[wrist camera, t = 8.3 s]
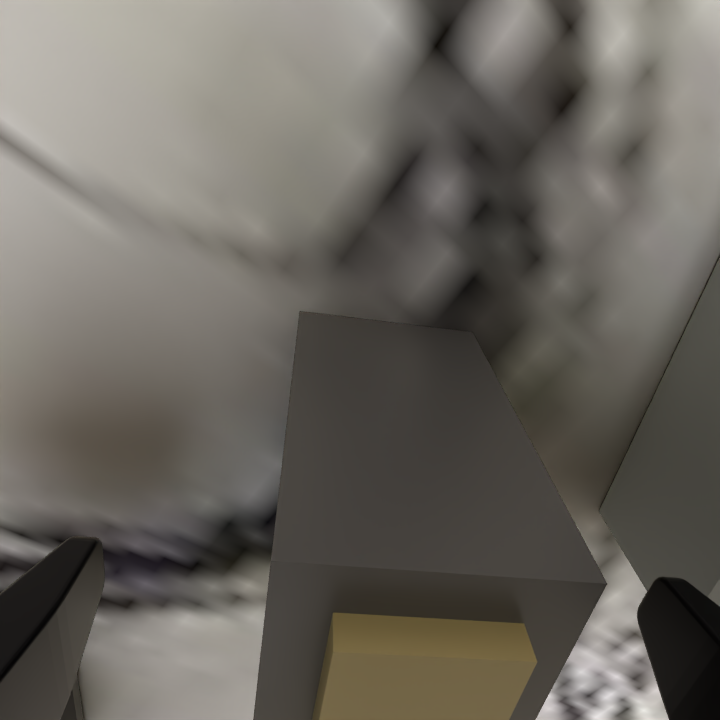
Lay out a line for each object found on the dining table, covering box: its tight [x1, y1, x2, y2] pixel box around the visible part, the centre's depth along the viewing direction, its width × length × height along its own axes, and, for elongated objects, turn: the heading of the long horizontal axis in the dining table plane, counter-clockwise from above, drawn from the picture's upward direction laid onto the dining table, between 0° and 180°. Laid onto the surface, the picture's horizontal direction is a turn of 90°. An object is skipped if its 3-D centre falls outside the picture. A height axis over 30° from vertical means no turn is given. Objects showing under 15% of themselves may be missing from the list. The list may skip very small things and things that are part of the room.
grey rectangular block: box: [253, 311, 607, 720], centre depth 10 cm, size 4×4×8 cm
